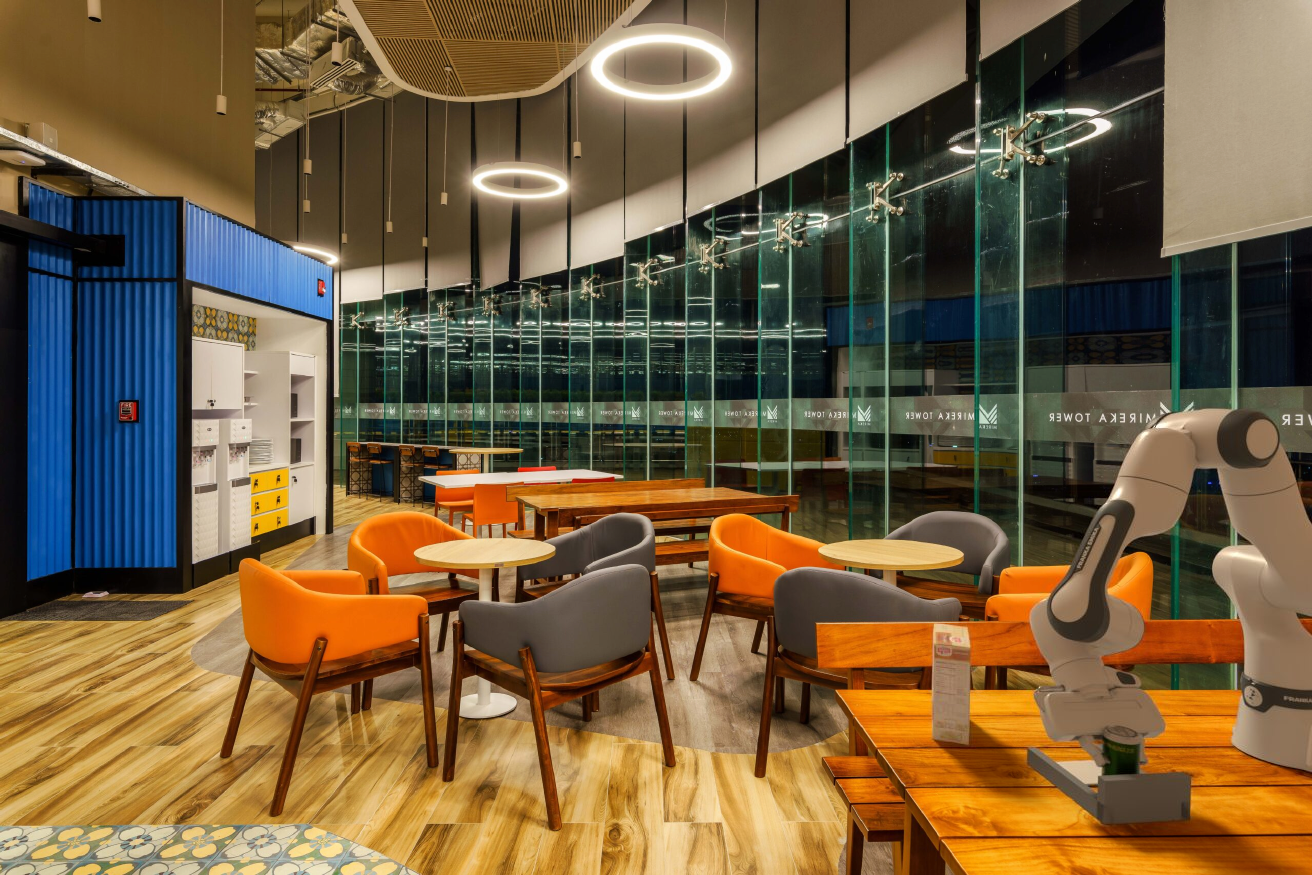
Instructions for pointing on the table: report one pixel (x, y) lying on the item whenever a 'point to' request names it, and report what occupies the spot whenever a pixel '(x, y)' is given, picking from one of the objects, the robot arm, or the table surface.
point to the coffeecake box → (951, 684)
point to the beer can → (1121, 751)
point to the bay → (1118, 790)
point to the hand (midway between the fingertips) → (1123, 764)
